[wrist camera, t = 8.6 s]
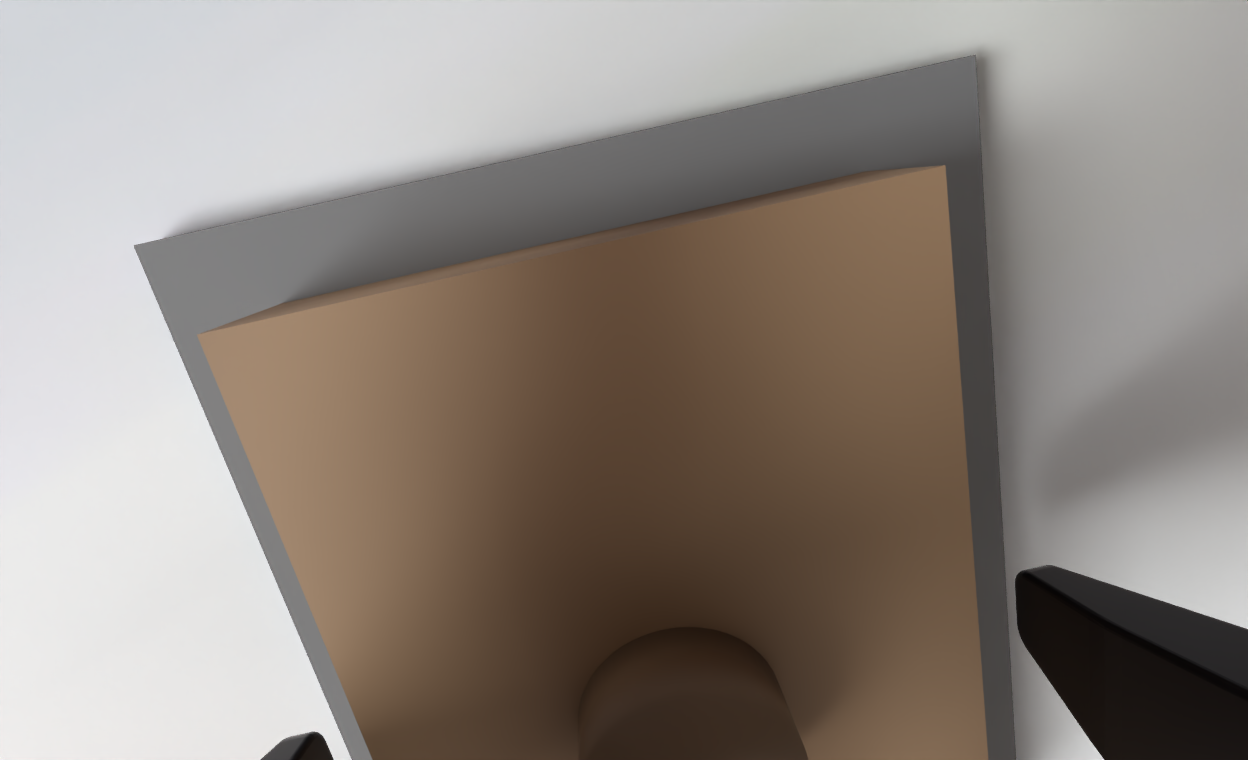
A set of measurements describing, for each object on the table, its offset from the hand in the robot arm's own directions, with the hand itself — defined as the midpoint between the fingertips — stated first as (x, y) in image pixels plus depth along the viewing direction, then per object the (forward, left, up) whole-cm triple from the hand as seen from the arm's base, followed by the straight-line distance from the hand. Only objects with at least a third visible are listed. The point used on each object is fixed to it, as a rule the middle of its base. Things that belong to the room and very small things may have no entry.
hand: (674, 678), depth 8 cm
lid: (0, 0, -1) cm, 1 cm away
